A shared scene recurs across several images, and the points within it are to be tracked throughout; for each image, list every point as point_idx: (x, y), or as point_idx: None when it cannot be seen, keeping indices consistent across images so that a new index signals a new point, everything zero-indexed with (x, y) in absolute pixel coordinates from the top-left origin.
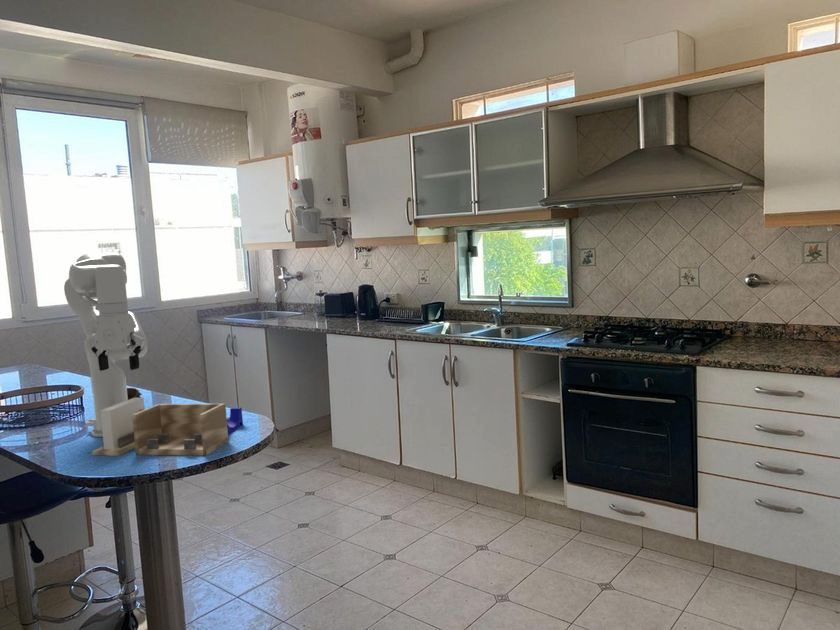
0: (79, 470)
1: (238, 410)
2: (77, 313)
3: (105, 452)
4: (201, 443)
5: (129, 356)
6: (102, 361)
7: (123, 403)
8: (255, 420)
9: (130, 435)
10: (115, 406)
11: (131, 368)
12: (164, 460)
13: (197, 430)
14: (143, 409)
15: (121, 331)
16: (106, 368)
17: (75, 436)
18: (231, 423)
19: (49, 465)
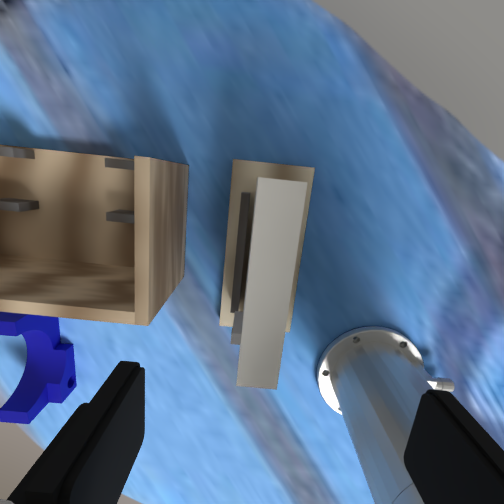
0: (275, 28)
1: (5, 405)
2: None
3: (273, 163)
4: (15, 198)
5: (52, 486)
6: (475, 481)
7: (266, 296)
8: (35, 421)
9: (237, 237)
10: (272, 247)
11: (123, 366)
12: (73, 104)
13: (51, 266)
14: (231, 340)
15: None
16: (412, 441)
17: (455, 340)
18: (40, 367)
19: (394, 84)
